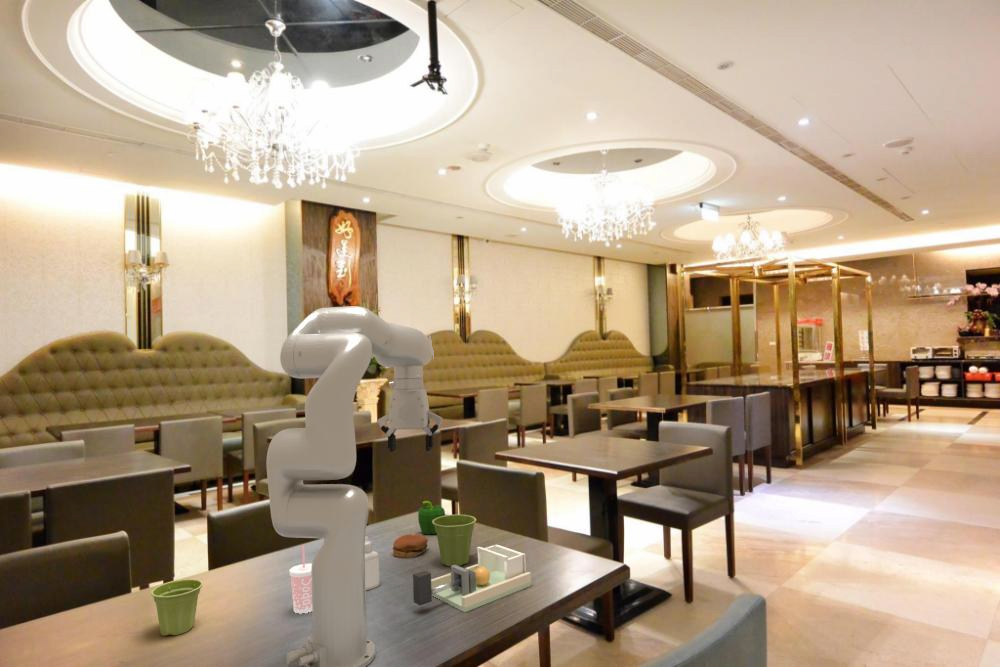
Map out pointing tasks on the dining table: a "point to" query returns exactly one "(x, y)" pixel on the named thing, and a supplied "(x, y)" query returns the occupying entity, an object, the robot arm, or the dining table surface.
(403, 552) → the burger
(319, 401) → the robot arm
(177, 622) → the plant pot
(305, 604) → the beverage cup
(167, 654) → the dining table surface
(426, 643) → the dining table surface
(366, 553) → the eye dropper bottle
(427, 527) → the bell pepper
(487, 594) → the pitch
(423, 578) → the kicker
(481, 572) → the ball
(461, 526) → the plant pot
